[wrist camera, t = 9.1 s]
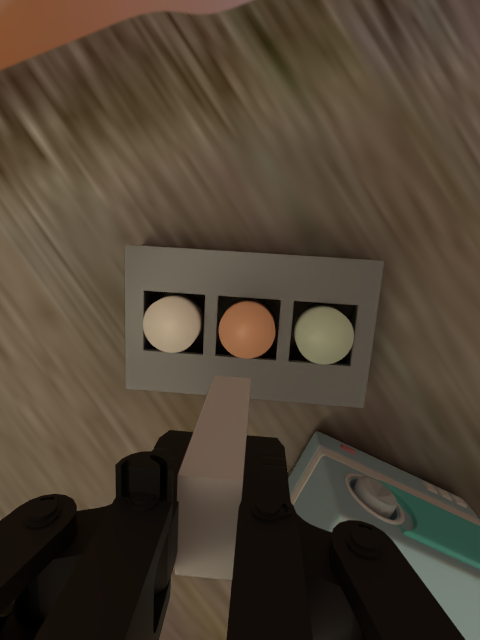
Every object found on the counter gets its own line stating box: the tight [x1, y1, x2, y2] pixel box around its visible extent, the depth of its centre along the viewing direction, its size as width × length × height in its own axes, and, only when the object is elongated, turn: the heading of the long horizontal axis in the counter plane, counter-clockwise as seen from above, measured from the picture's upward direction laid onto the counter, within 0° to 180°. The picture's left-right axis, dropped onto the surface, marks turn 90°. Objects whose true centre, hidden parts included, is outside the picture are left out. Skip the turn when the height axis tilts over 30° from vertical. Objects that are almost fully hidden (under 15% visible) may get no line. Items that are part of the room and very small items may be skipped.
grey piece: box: [125, 245, 384, 408], centre depth 31 cm, size 20×12×4 cm, turn 87°
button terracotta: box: [219, 299, 275, 359], centre depth 29 cm, size 4×4×2 cm
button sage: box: [293, 304, 354, 364], centre depth 29 cm, size 4×4×2 cm
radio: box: [288, 431, 480, 640], centre depth 26 cm, size 16×9×20 cm, turn 65°
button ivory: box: [143, 294, 203, 353], centre depth 29 cm, size 4×4×2 cm
